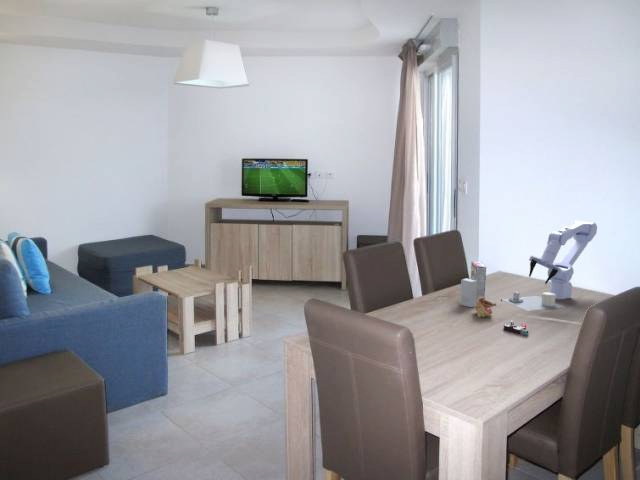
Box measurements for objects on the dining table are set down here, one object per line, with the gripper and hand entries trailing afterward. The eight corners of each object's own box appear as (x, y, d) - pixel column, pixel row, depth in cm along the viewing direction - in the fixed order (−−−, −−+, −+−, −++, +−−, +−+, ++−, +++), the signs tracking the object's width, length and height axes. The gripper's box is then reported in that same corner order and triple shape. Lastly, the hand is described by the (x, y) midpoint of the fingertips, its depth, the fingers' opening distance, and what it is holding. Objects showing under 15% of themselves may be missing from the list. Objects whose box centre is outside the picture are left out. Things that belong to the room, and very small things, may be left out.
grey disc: (517, 298, 291) (517, 290, 291) (525, 302, 285) (526, 294, 285) (505, 299, 289) (506, 291, 288) (514, 303, 283) (515, 295, 282)
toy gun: (526, 338, 241) (527, 326, 240) (500, 330, 250) (501, 319, 249) (539, 333, 247) (540, 321, 246) (513, 325, 256) (514, 314, 255)
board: (537, 297, 297) (537, 295, 297) (565, 309, 279) (565, 306, 279) (500, 301, 290) (500, 299, 290) (526, 313, 272) (526, 310, 272)
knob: (542, 302, 286) (543, 291, 285) (555, 303, 284) (556, 293, 283) (540, 305, 281) (541, 294, 280) (553, 306, 279) (554, 296, 278)
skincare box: (476, 306, 281) (478, 280, 279) (470, 307, 279) (472, 282, 276) (465, 303, 286) (467, 277, 284) (459, 304, 283) (460, 279, 281)
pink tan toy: (489, 322, 260) (473, 305, 261) (477, 326, 270) (462, 310, 270) (501, 308, 264) (486, 291, 264) (490, 312, 273) (475, 296, 274)
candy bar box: (468, 293, 302) (470, 261, 299) (479, 294, 302) (481, 261, 299) (474, 300, 291) (476, 266, 288) (484, 300, 291) (486, 266, 288)
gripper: (536, 245, 283) (524, 269, 279) (567, 258, 278) (554, 284, 275) (533, 250, 289) (521, 274, 286) (563, 263, 285) (551, 288, 281)
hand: (537, 279), depth 281 cm, fingers open, 7 cm apart
